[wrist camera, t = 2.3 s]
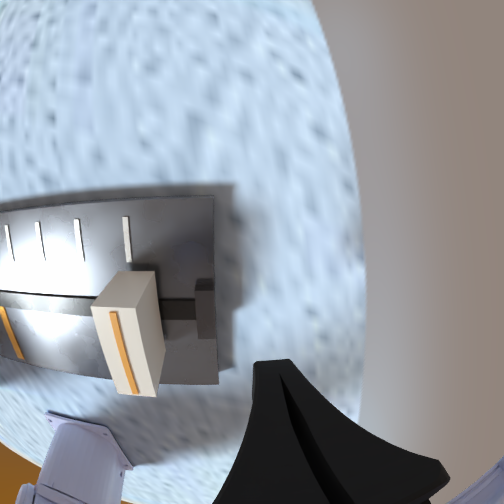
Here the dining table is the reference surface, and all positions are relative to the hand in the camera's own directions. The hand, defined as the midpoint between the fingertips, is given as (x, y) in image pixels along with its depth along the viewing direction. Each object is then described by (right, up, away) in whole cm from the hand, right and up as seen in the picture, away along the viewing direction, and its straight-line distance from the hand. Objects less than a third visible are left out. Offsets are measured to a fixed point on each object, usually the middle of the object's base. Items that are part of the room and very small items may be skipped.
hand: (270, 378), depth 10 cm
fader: (-7, +1, +4) cm, 8 cm away
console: (-15, +2, +5) cm, 16 cm away
